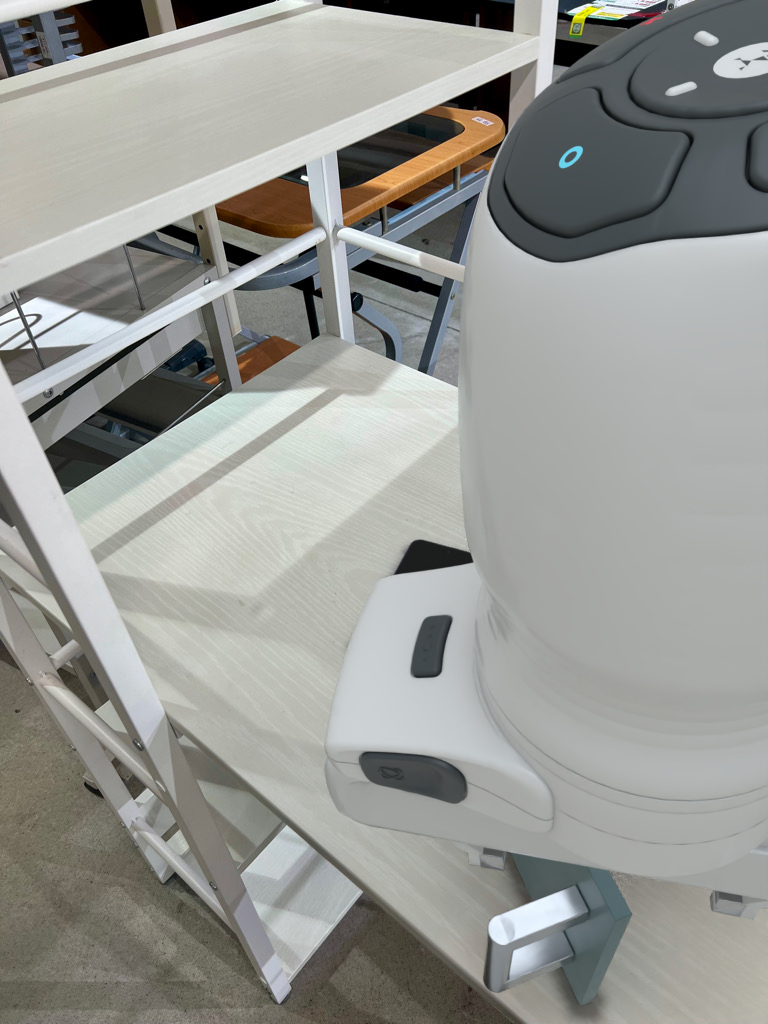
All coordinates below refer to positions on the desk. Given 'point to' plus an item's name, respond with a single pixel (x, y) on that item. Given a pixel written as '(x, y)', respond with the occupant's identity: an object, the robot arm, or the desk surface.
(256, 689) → the desk surface
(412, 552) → the smartphone
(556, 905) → the door
